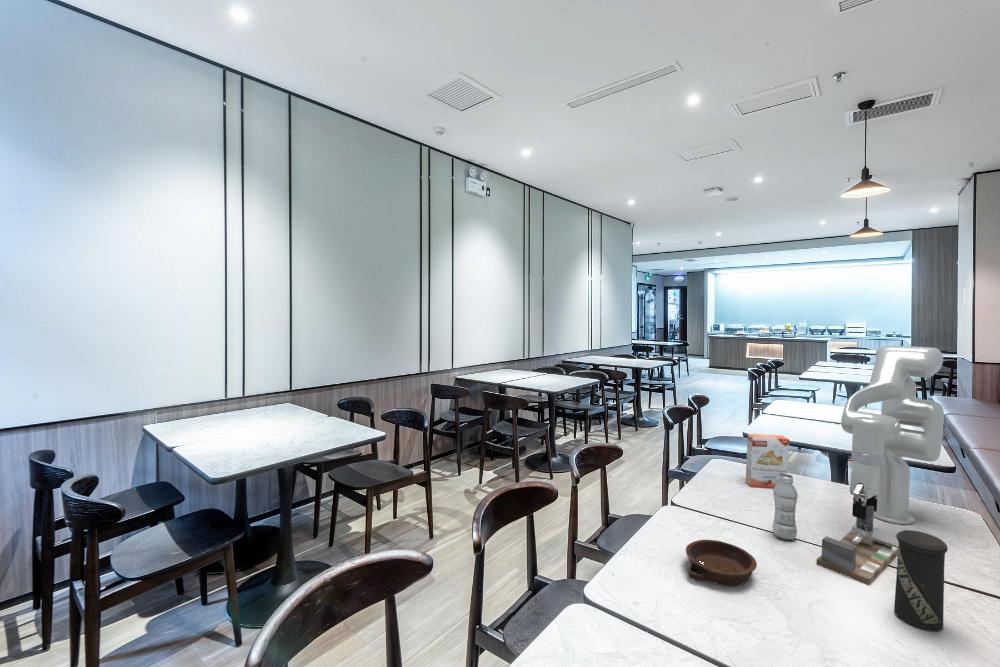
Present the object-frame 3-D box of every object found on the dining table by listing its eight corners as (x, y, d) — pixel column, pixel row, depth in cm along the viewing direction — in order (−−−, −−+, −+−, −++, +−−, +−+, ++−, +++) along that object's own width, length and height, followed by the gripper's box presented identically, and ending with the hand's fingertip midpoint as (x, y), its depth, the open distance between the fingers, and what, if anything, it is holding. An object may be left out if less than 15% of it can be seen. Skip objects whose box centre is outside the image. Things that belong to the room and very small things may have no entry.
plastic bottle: (800, 543, 139) (802, 480, 138) (776, 541, 140) (778, 478, 139) (791, 533, 145) (793, 472, 144) (768, 531, 146) (770, 471, 145)
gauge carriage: (856, 534, 140) (858, 500, 140) (894, 546, 133) (896, 510, 132) (844, 544, 134) (845, 509, 134) (882, 558, 127) (884, 520, 126)
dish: (774, 577, 121) (775, 559, 121) (723, 603, 111) (724, 583, 110) (716, 547, 137) (716, 531, 136) (666, 567, 126) (666, 550, 126)
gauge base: (851, 535, 144) (852, 512, 143) (900, 551, 134) (901, 527, 133) (816, 564, 127) (817, 538, 127) (869, 585, 118) (870, 557, 117)
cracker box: (750, 487, 182) (752, 437, 181) (745, 482, 188) (746, 433, 187) (788, 489, 180) (789, 438, 179) (781, 484, 186) (783, 434, 185)
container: (882, 608, 109) (886, 527, 108) (916, 606, 109) (920, 526, 108) (919, 633, 100) (923, 546, 99) (955, 631, 101) (960, 544, 100)
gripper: (861, 450, 144) (859, 503, 144) (841, 459, 134) (839, 516, 134) (892, 456, 138) (889, 511, 138) (873, 466, 128) (870, 526, 128)
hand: (864, 513), depth 136 cm, fingers open, 9 cm apart
